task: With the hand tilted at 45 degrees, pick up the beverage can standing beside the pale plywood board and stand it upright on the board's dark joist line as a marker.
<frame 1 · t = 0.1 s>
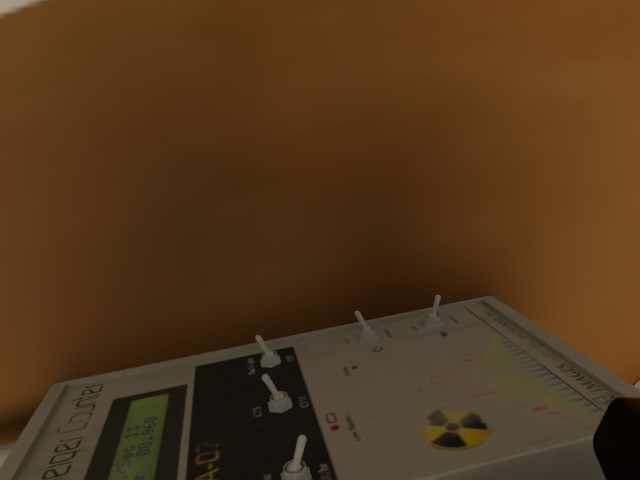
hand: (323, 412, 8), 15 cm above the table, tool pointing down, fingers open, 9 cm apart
geiger counter: (235, 388, 24), on the table
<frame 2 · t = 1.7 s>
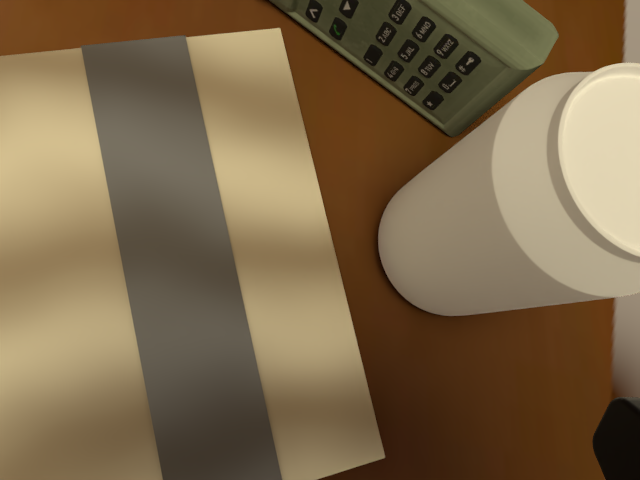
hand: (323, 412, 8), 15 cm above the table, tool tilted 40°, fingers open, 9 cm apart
beverage can: (435, 248, 25), on the table
subfloor board: (154, 270, 22), on the table
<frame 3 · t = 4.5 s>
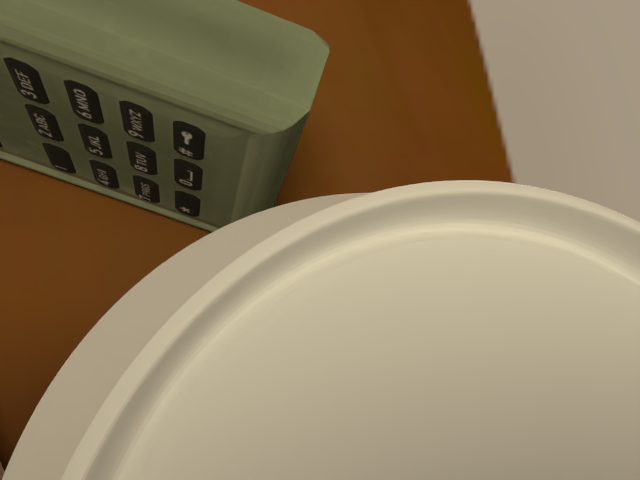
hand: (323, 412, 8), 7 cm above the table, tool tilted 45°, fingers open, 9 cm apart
beverage can: (260, 468, 14), on the table
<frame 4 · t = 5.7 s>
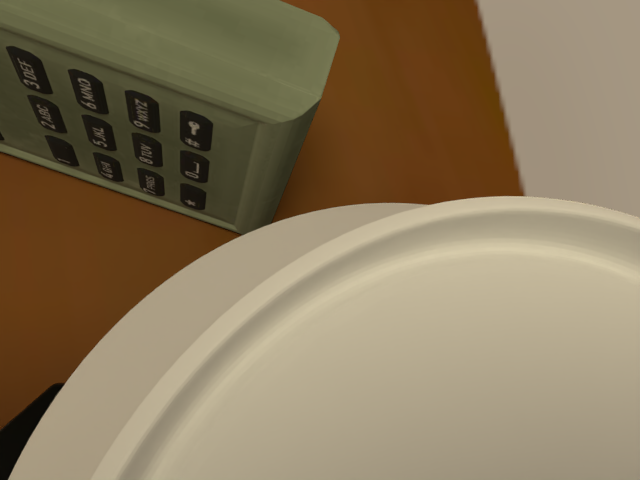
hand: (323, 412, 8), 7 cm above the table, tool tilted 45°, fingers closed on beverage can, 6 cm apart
beverage can: (263, 477, 14), on the table, touching gripper
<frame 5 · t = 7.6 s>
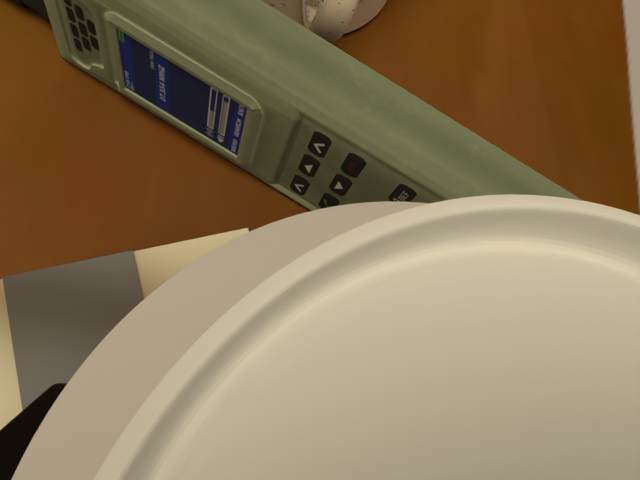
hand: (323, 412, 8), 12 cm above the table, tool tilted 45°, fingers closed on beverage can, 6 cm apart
handheld radio: (222, 128, 23), on the table
beverage can: (264, 475, 14), point 5 cm above the table, touching gripper
when the fingers open (8 cm above the table, at t = 9.8 s): beverage can stays where it is, resting on subfloor board.
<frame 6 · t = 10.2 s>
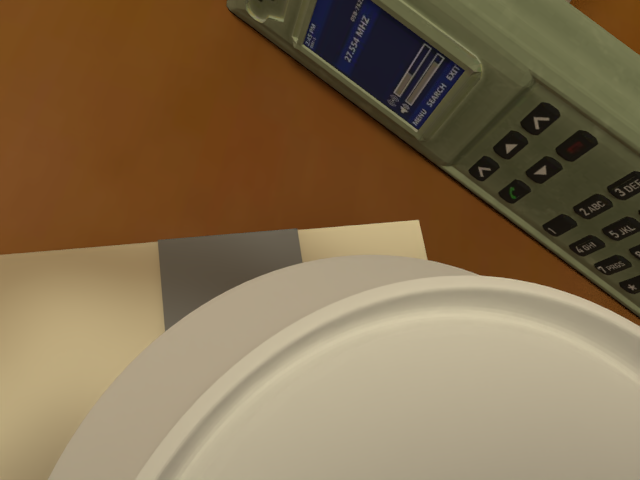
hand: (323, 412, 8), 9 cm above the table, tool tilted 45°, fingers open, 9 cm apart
handheld radio: (386, 103, 21), on the table
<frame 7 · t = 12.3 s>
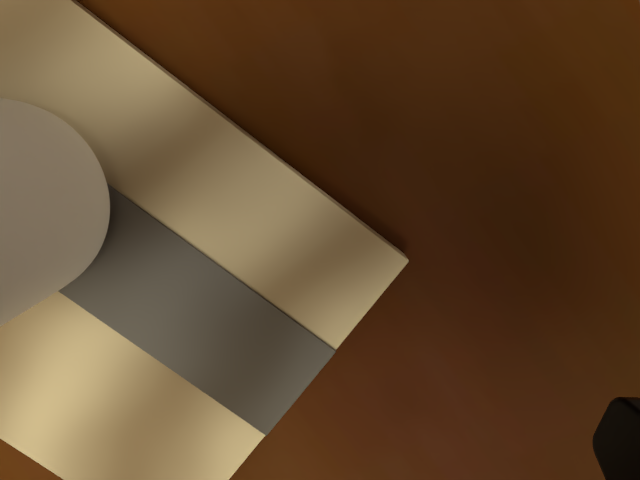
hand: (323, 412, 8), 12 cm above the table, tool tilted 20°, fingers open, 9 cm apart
beverage can: (28, 197, 18), point 1 cm above the table, touching subfloor board
subfloor board: (84, 254, 20), on the table
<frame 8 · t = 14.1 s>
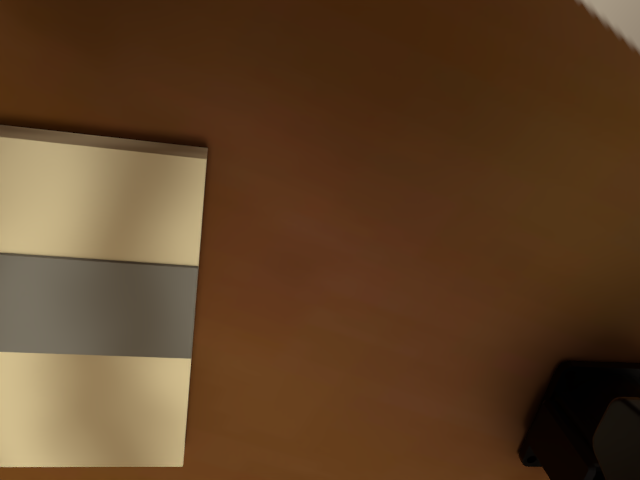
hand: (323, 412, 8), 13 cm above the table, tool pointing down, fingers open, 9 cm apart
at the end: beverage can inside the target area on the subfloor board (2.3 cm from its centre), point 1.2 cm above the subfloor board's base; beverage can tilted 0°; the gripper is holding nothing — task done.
